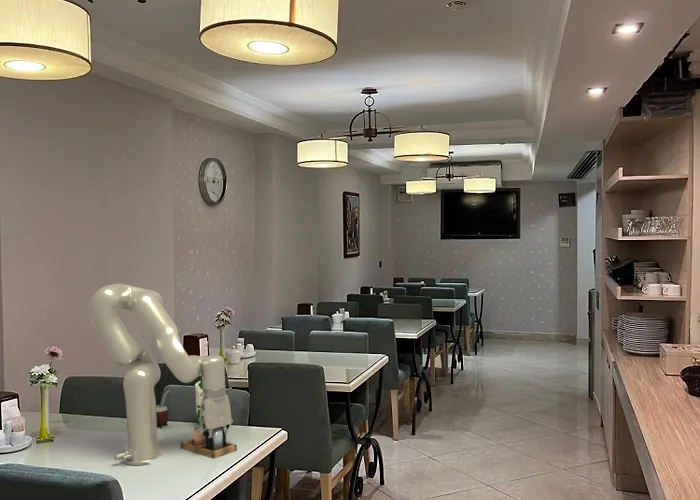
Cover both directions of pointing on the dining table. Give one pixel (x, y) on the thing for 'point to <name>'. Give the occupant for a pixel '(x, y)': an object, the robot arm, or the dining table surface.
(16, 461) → the dining table surface
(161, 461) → the dining table surface
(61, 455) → the dining table surface
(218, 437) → the salt shaker
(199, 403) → the milk carton
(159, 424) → the mate gourd
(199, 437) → the pepper shaker
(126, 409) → the robot arm
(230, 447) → the caddy
